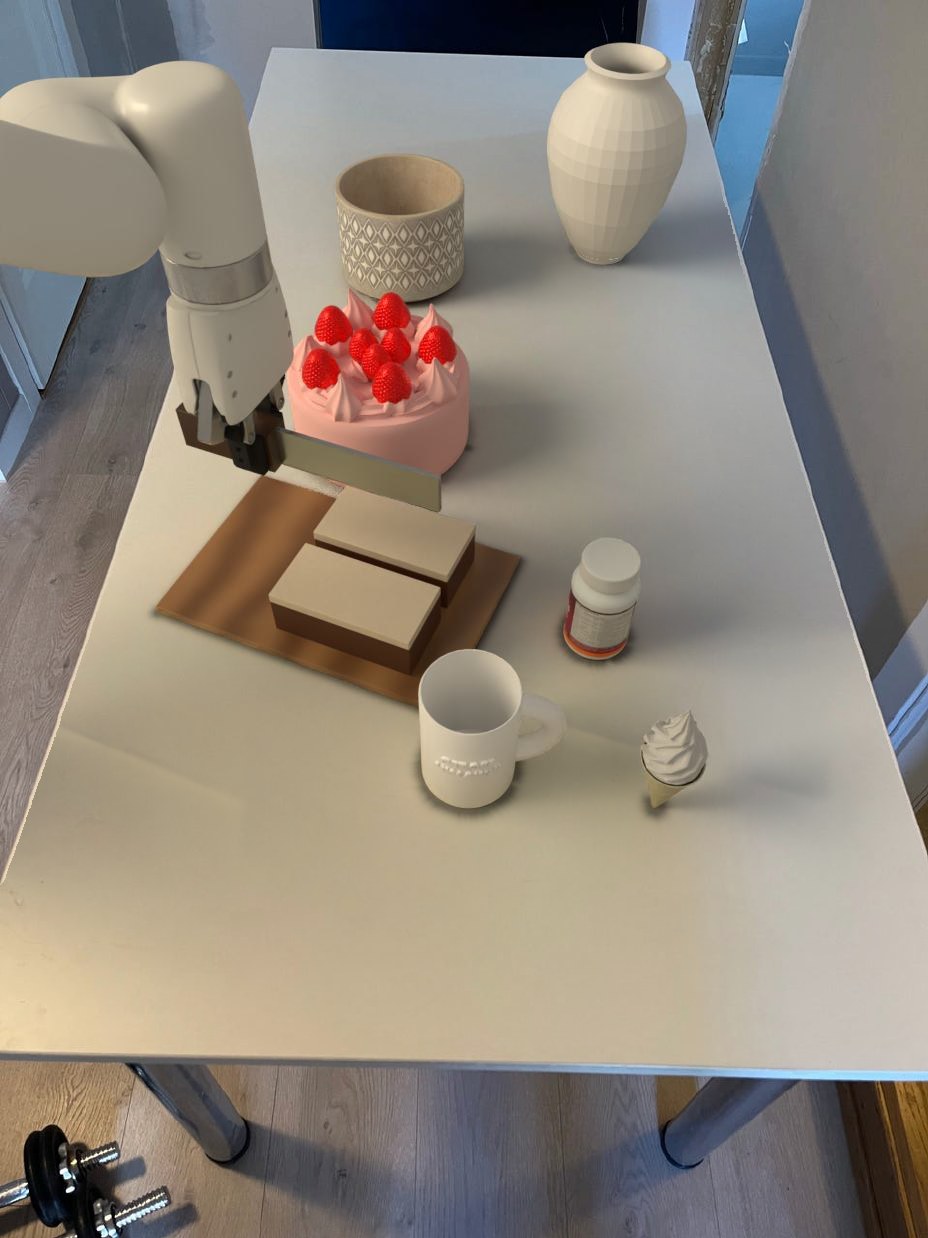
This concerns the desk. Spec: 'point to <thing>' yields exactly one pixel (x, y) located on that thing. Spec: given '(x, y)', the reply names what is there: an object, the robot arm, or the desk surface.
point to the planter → (401, 225)
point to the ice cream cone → (673, 757)
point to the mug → (478, 727)
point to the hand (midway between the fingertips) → (261, 455)
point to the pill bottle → (602, 599)
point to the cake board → (263, 550)
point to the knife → (328, 461)
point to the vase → (615, 149)
